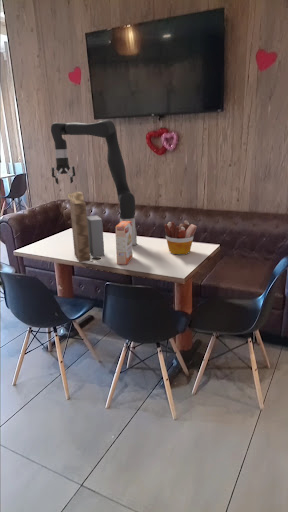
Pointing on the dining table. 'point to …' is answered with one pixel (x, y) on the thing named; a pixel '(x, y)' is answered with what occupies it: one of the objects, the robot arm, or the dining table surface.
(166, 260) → the dining table surface
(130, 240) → the cracker box
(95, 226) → the step
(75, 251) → the wooden block
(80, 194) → the tan wooden molding strip
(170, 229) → the bucket of meat
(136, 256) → the dining table surface
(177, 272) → the dining table surface
